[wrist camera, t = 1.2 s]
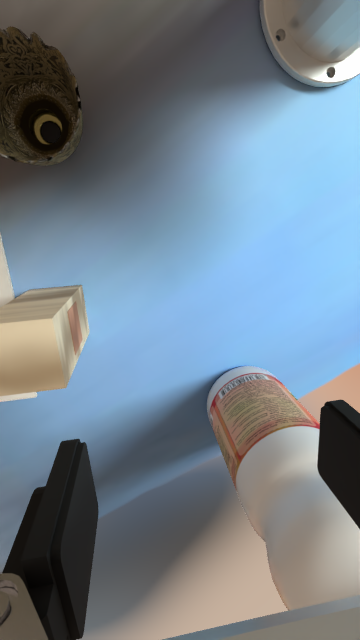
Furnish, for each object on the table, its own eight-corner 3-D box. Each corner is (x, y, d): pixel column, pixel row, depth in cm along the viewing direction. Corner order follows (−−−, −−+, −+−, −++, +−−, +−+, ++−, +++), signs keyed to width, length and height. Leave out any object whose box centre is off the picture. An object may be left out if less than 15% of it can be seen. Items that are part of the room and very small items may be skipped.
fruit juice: (228, 351, 36) (496, 713, 9) (294, 379, 38) (662, 735, 12) (191, 419, 38) (325, 880, 11) (256, 442, 40) (497, 871, 13)
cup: (-4, 81, 26) (-60, 22, 18) (88, 82, 27) (70, 25, 19) (14, 180, 28) (-30, 163, 21) (99, 177, 29) (86, 160, 21)
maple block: (29, 289, 31) (-32, 326, 20) (82, 284, 32) (52, 318, 20) (39, 337, 32) (-12, 397, 21) (90, 331, 33) (66, 387, 22)
